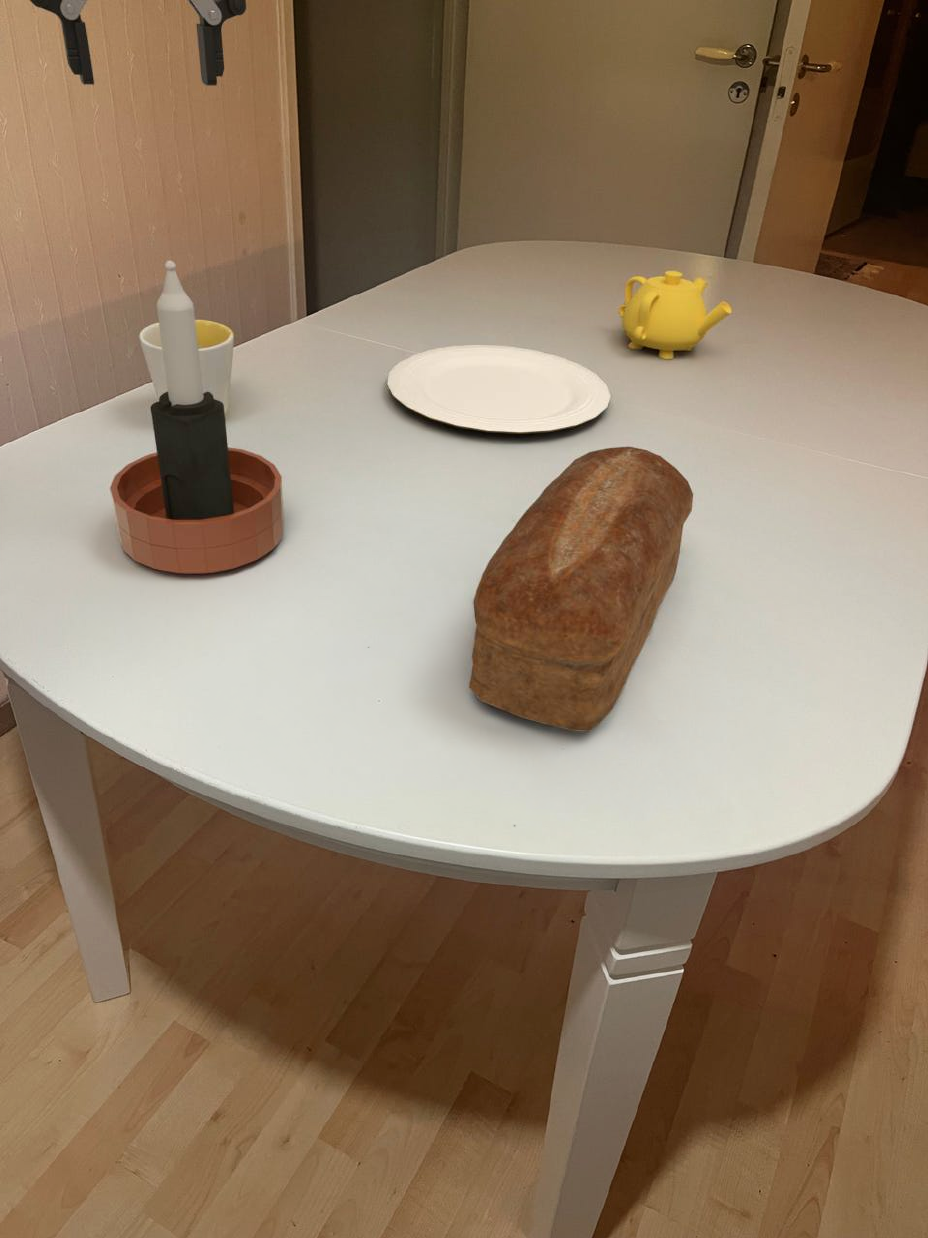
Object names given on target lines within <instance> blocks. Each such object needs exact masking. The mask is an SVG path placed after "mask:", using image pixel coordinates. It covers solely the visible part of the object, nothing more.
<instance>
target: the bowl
mask: <svg viewBox="0 0 928 1238" xmlns="http://www.w3.org/2000/svg"><path fill="white" fill-rule="evenodd" d="M228 453H229V464H230V474H231V484H232V495H233V505H234V514H231V515H228V516H222V517H215V518H209V519H202V520H172V519H167V517H166V511H165V504H164V497H163V490H162V483H161V476H160V470H159V463H158V456H157V451H156V452H153V453H149V454H146V455H144V456H142V457H140V458H138V459H136V460H134V461H132V462H130V463H128V464H126V465H125V466H124V467H123V468H122V469H121V470H120V471H118V472H117V473H116V474H115V475H114V477H113V480H112V482H111V485H110V487H109V490H110V497H111V502H112V508H113V512H114V513H113V514H114V518H115V523H116V530H117V535H118V538H119V539H118V540H119V542H120V545H121V549H122V550H123V551H124V552H125V553H126V554H127V555H128V556H129V557H131V559H132V560H133V561H135V562H137V563H139V564H142V565H144V566H146V567H149V568H151V569H155V570H159V571H163V572H169V573H176V574H186V575H205V574H213V573H214V574H215V573H221V572H225V571H230V570H233V569H236V568H239V567H241V566H244V565H247V564H250V563H252V562H255V561H257V560H259V559H261V558H262V557H263V556H265V555H267V554H268V553H269V552H271V551H273V550H274V549H275V548H276V547H277V545H278V544H279V542H280V541H281V540H282V538H283V537H284V533H285V532H284V531H285V511H284V510H285V509H284V495H283V493H284V492H283V479H282V478H283V477H282V474H281V473H280V471H279V470H278V468H277V467H276V465H275V464H274V463H272V462H271V461H269V460H268V459H267V458H266V457H264V456H262V455H261V454H257V453H254V452H251V451H249V450H245V449H243V448H235V447H229V446H228Z"/></svg>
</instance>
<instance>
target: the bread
mask: <svg viewBox="0 0 928 1238" xmlns="http://www.w3.org/2000/svg"><path fill="white" fill-rule="evenodd" d="M693 501H694V493H693V490H692V488H691V485H690V483H689V480H687V479H686V478H685V477H684V475H683V474H682V473H681V472H680V471H679V470H678V468H676V467H675V466H674V465H672V464H671V463H670V462H669V461H668V460H666V459H665V458H664V457H662V455H659V454H656V453H654V452H652V451H650V450H648V449H644V448H639V447H633V446H618V447H606V448H602V449H597V450H592V451H589V452H587V453H585V454H583V455H581V456H580V457H577V458H575V459H574V460H573V461H572V462H571V463H570V464H569V465H568V466H567V467H566V468H565V469H564V470H563V471H562V472H561V473H560V475H558V476H557V477H555V478H554V479H553V480H552V481H551V482H550V483H549V484H548V485H547V486H546V487H545V488H544V490H543V491H542V492H541V493H540V495H539V496H538V497H537V498H536V499H535V501H534V502H532V504H531V505H530V506H529V507H528V508H527V509H526V510H525V512H524V513H522V515H521V517H520V518H519V520H518V521H517V522H516V523H515V525H514V527H513V528H512V529H511V530H510V531H509V533H508V534H507V535H506V536H505V537H504V539H503V541H502V542H501V543H500V545H499V546H498V548H497V550H496V551H495V552H494V554H493V555H492V557H491V558H490V560H489V561H488V562H487V565H486V567H485V569H484V570H483V573H482V575H481V578H480V580H479V582H478V585H477V588H476V590H475V594H474V598H473V601H472V602H473V603H472V604H473V614H474V616H473V617H474V621H475V630H474V631H475V632H474V638H473V645H472V651H471V661H472V666H471V672H470V677H469V684H468V688H469V689H470V690H471V691H472V692H473V694H474V695H475V696H476V697H477V698H478V699H479V701H481V702H483V703H485V704H487V705H491V706H493V707H495V708H497V709H500V710H502V711H506V712H508V713H510V714H513V715H515V716H517V717H520V718H523V719H525V720H530V721H532V722H533V721H534V722H537V723H540V724H544V725H547V726H551V727H555V728H560V729H565V730H570V731H578V732H589V731H591V730H592V729H594V728H595V727H597V725H599V724H600V723H602V721H604V719H605V718H606V717H607V716H608V715H609V714H610V713H611V711H612V710H613V708H614V707H615V705H616V703H617V702H618V700H619V699H620V696H621V694H622V692H623V690H624V688H625V685H626V683H627V680H628V678H629V676H630V673H631V671H632V669H633V667H634V665H635V663H636V661H637V659H638V657H639V655H640V653H641V651H642V649H643V647H644V645H645V642H646V640H647V638H648V636H649V634H650V633H651V631H652V628H653V625H654V622H655V619H656V617H657V614H658V612H659V609H660V606H661V605H662V602H663V600H664V598H665V596H666V594H667V592H668V590H669V589H670V586H671V585H672V583H673V582H674V579H675V576H676V572H677V567H678V562H679V557H680V553H681V547H682V546H681V545H682V538H683V537H682V536H683V530H684V525H685V523H686V521H687V519H688V517H689V516H690V514H691V513H692V511H693Z"/></svg>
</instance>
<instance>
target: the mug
mask: <svg viewBox="0 0 928 1238" xmlns="http://www.w3.org/2000/svg"><path fill="white" fill-rule="evenodd" d="M195 323H196V332H197V341H198V350H199V359H200V369H201V378H202V387H203V393H205V392H210V393H211V394H212V395H213V397H214V399H215V400H218V401H220V402H222V403H223V405H224V412H225V415H227V413H229V412H228V411H229V409H230V399H231V398H230V397H231V383H232V382H231V381H232V369H233V368H232V367H233V358H234V344H235V343H234V342H235V335H234V332H233V330H232V328H230V327H228V326H227V325H225V324H222V323H219V322H216V321H211V320H206V319H196V318H195ZM138 338H139V342H140V345H141V349H142V352H143V355H144V359H145V362H146V365H147V369H148V371H149V375H150V378H151V380H152V381H151V382H152V385H153V388H154V392H155V396H156V398H157V402H158V401H159V398H160V396H161V395H162V394H163V393H165V392H167V391H168V388H167V380H166V372H165V365H164V357H163V350H162V342H161V335H160V327H159V322H155V323H152V324H150V325H148V326H146V327H144V328H142V330H141V331H140V333H139V337H138Z"/></svg>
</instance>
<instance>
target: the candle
mask: <svg viewBox="0 0 928 1238" xmlns="http://www.w3.org/2000/svg"><path fill="white" fill-rule="evenodd" d="M164 268H165V270H166V272H165V278H164V284H163V288H162V289H163V290H162V292H161V295H160V296H159V298H158V300H157V302H156V311H157V319H158V323H159V327H160V335H161V342H162V350H163V357H164V365H165V372H166V380H167V388H168V391H167V392H165V393H163V394H162V395H161V396H160V398H159V401H158V400H157V401H156V402H153V403H152V404H151V405H150V415H151V422H152V427H153V436H154V443H155V449H156V452H157V456H158V463H159V470H160V476H161V483H162V490H163V497H164V504H165V511H166V517H167V519H172V520H202V519H209V518H215V517H222V516H228V515H231V514H234V505H233V495H232V484H231V474H230V464H229V453H228V447H229V446H228V445H229V443H228V435H227V425H226V424H227V422H226V414H225V412H224V405H223V403H222V402H220V401H218V400H215V399H214V397H213V395H212V394H211V393H210V392H205V393H203V387H202V378H201V369H200V359H199V350H198V341H197V332H196V323H195V319H196V316H195V315H196V314H195V306H194V303H193V301H192V299H191V298H190V297H189V296H188V294H187V293H186V292H185V290H184V288H183V287H182V284H181V281H180V279H179V277H178V274H177V272H176V268H177V265H176V263H175V262H174V261H173V260H167V261H166V262H165V264H164Z"/></svg>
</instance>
